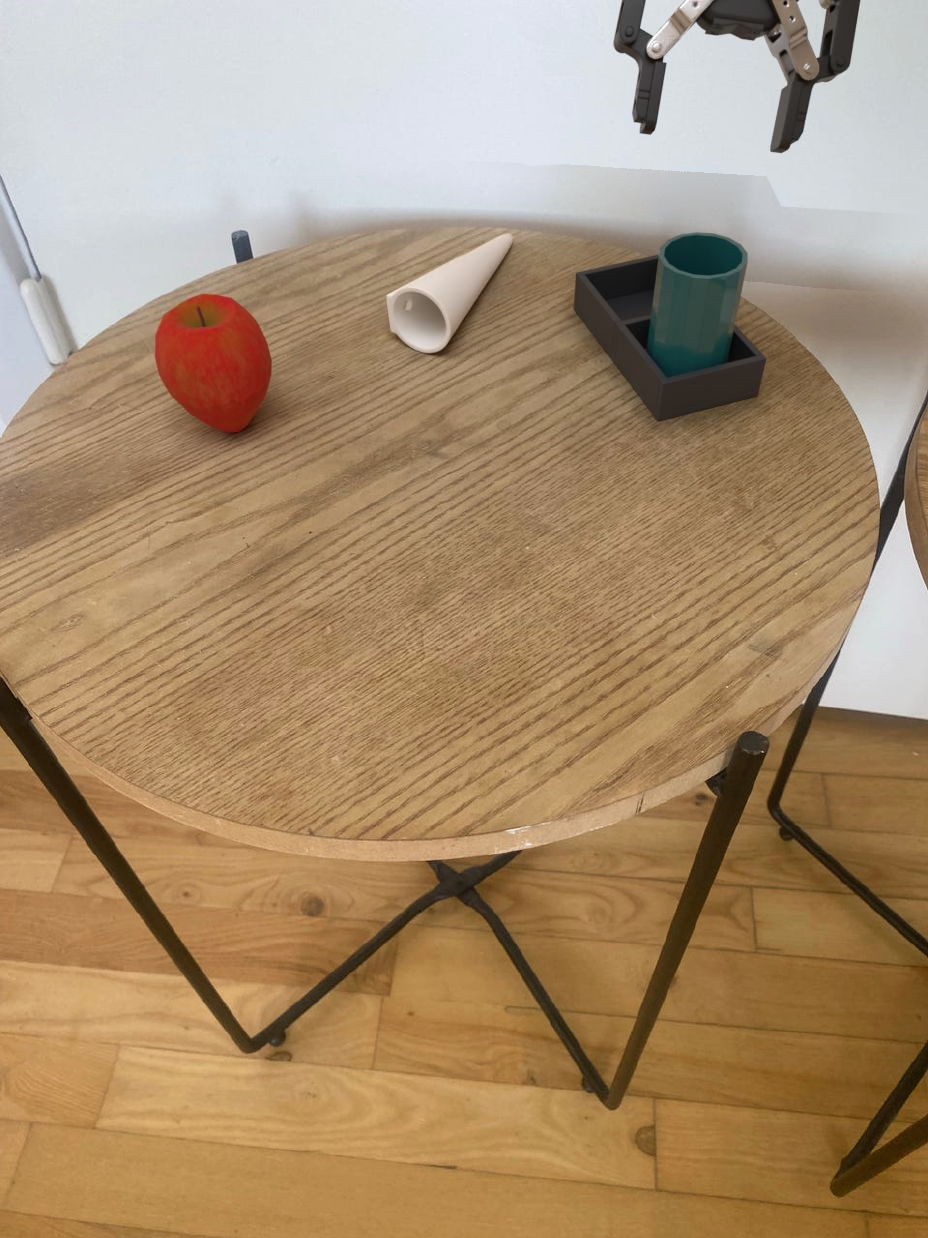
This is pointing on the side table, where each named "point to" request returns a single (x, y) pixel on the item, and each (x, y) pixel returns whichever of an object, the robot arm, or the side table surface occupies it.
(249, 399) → the apple
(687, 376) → the divided tray
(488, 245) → the long cone
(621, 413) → the side table surface
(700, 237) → the cutlery cup
